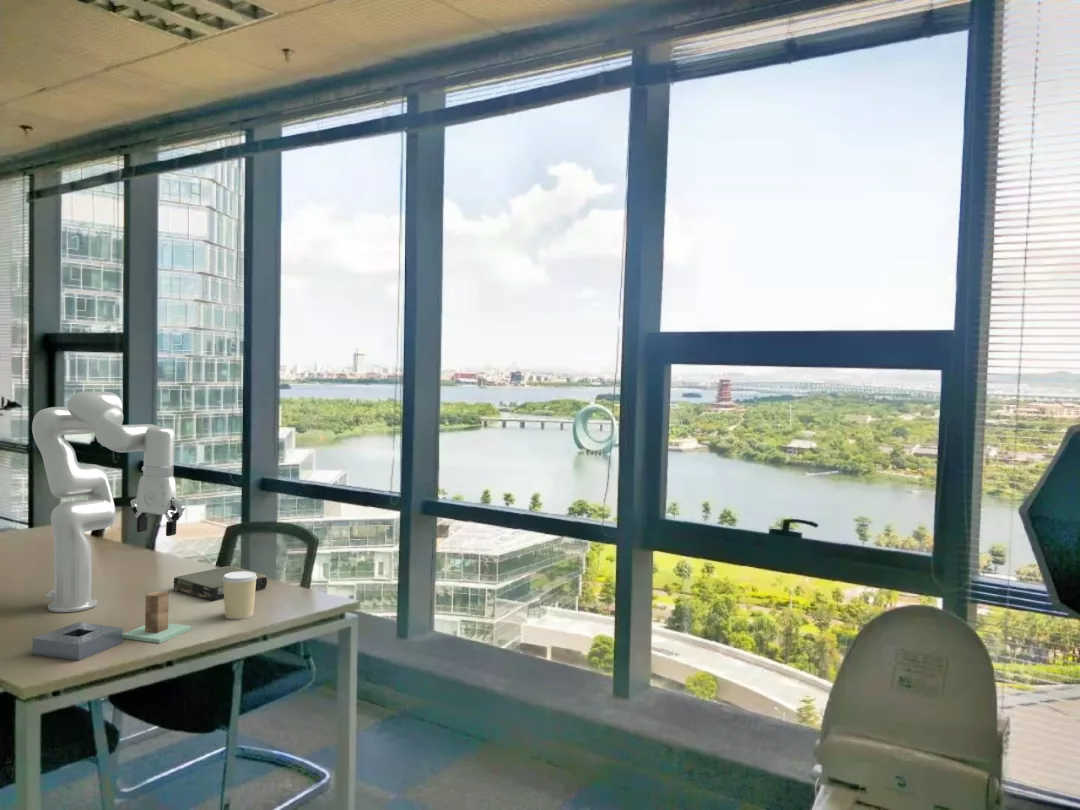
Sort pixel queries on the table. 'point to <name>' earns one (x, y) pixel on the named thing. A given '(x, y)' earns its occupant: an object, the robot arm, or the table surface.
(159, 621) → the walnut peg
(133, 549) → the table surface
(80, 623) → the hole block
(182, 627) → the green pad
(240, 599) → the coffee cup
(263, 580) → the network switch
